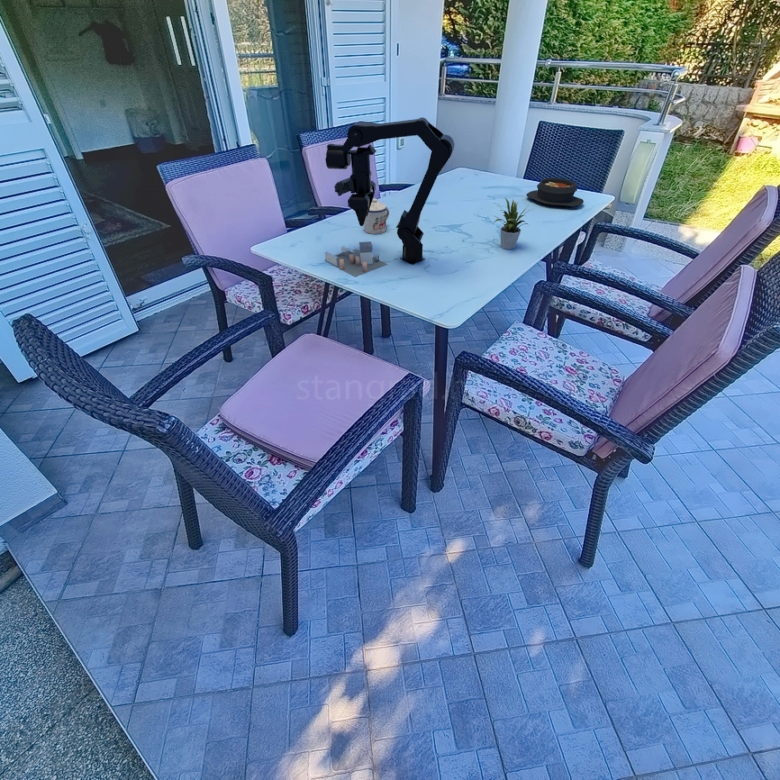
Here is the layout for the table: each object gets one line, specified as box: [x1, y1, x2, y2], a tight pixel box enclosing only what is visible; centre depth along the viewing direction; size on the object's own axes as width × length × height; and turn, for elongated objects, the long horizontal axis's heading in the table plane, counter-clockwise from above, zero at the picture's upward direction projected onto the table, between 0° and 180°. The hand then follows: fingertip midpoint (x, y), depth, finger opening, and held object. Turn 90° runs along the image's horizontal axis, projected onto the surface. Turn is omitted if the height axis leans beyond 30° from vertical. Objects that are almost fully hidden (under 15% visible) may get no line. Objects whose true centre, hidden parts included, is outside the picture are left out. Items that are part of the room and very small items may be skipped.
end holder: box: [324, 245, 355, 268], centre depth 150 cm, size 7×8×3 cm
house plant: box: [493, 197, 534, 250], centre depth 157 cm, size 14×14×16 cm
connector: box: [358, 241, 374, 264], centre depth 149 cm, size 4×4×6 cm
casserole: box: [526, 177, 584, 207], centre depth 196 cm, size 25×19×8 cm
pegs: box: [339, 254, 380, 273], centre depth 147 cm, size 9×14×3 cm, turn 132°
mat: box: [324, 248, 388, 278], centre depth 150 cm, size 17×14×1 cm
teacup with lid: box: [363, 198, 390, 235], centre depth 171 cm, size 12×9×12 cm
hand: (363, 220), depth 147 cm, fingers open, 9 cm apart
